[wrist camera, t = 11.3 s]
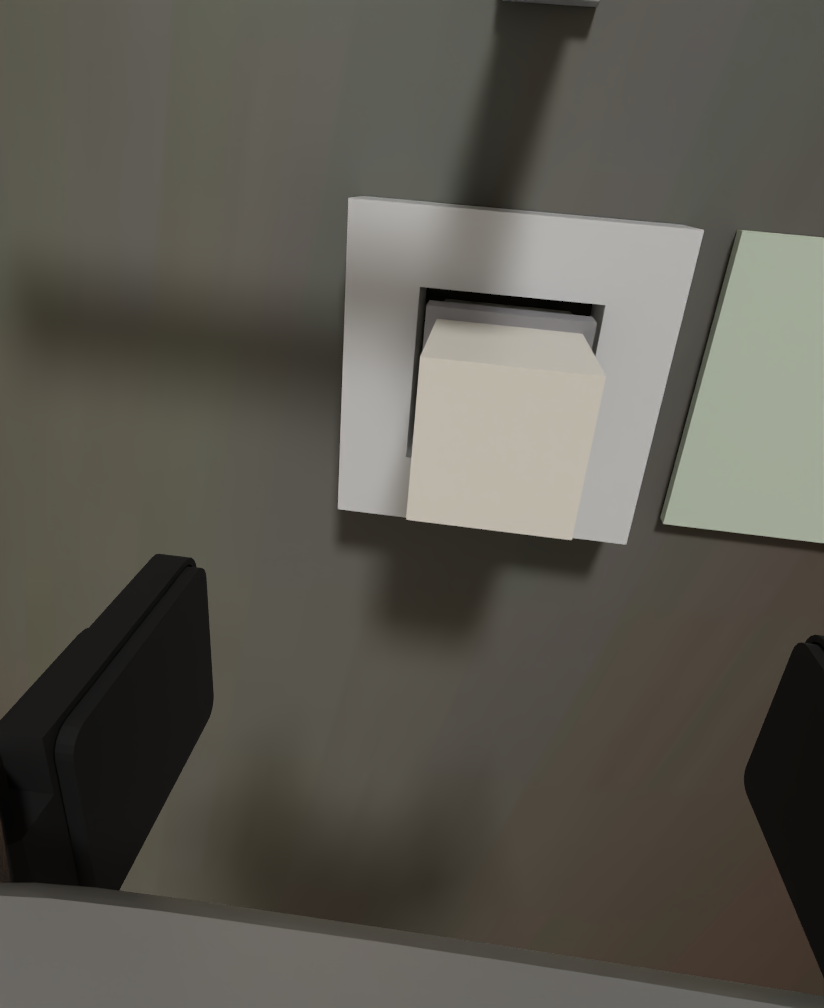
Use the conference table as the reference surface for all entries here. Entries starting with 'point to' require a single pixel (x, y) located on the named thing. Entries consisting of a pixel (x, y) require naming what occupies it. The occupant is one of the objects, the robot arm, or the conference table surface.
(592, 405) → the plug
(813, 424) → the mat
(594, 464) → the socket block
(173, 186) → the conference table surface
